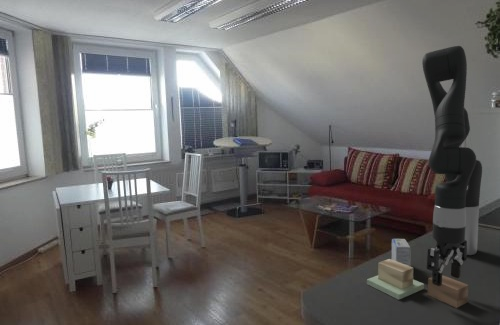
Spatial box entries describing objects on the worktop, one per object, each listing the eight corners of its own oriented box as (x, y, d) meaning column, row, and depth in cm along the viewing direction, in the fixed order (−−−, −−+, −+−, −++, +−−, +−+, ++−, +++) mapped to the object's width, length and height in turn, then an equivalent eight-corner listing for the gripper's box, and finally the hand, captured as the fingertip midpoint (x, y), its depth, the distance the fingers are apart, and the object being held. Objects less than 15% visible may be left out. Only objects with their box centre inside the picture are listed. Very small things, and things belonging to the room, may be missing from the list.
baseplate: (391, 274, 111) (391, 270, 110) (423, 288, 101) (424, 283, 101) (366, 284, 105) (366, 279, 105) (399, 299, 96) (399, 294, 95)
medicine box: (410, 273, 111) (411, 247, 110) (395, 273, 112) (396, 246, 111) (405, 263, 119) (405, 238, 117) (391, 262, 119) (391, 238, 118)
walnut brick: (438, 290, 100) (439, 273, 100) (467, 302, 93) (468, 284, 93) (427, 295, 98) (428, 278, 97) (456, 308, 91) (457, 290, 90)
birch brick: (388, 274, 108) (389, 258, 107) (412, 284, 101) (413, 267, 100) (378, 278, 105) (378, 262, 104) (402, 289, 98) (402, 272, 98)
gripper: (450, 215, 100) (448, 269, 102) (419, 223, 93) (417, 282, 95) (478, 221, 93) (475, 279, 95) (447, 231, 86) (444, 293, 88)
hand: (446, 280), depth 95 cm, fingers open, 8 cm apart
